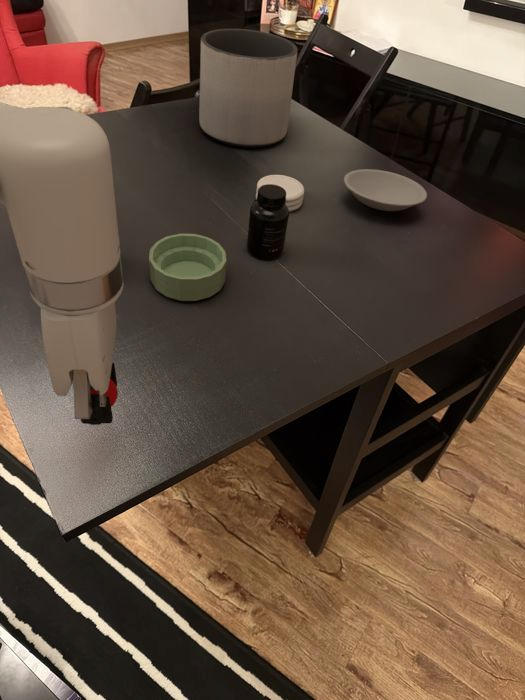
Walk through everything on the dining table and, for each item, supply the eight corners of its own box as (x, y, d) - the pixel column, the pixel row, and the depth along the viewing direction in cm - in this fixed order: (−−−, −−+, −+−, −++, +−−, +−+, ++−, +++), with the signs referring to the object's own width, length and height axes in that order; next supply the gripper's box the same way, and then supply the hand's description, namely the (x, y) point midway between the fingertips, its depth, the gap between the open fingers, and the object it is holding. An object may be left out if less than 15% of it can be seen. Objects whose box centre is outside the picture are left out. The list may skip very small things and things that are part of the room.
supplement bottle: (240, 242, 90) (245, 182, 81) (273, 237, 92) (282, 178, 83) (254, 264, 85) (261, 203, 77) (289, 258, 88) (299, 198, 79)
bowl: (149, 303, 76) (147, 278, 72) (153, 256, 84) (151, 232, 80) (226, 304, 77) (228, 279, 74) (222, 258, 86) (224, 234, 82)
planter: (212, 107, 132) (215, 22, 118) (292, 123, 131) (304, 38, 116) (187, 140, 117) (186, 46, 102) (278, 158, 115) (290, 65, 101)
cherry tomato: (78, 419, 51) (72, 395, 48) (84, 390, 54) (78, 365, 51) (117, 419, 52) (113, 395, 49) (120, 390, 55) (117, 366, 52)
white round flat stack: (255, 186, 104) (257, 171, 102) (300, 191, 105) (303, 176, 103) (255, 211, 98) (257, 195, 95) (303, 215, 98) (306, 200, 96)
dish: (418, 199, 108) (426, 179, 105) (419, 233, 99) (428, 211, 95) (342, 184, 110) (347, 163, 106) (335, 215, 100) (340, 193, 96)
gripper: (47, 215, 45) (76, 348, 58) (0, 344, 34) (49, 473, 47) (130, 220, 46) (140, 349, 59) (111, 345, 35) (128, 471, 48)
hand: (100, 403), depth 53 cm, fingers closed on cherry tomato, 3 cm apart
